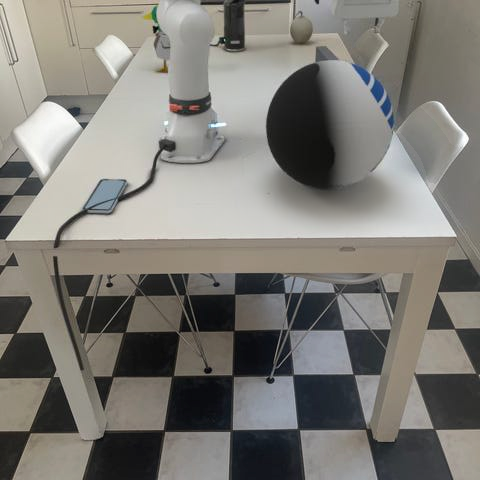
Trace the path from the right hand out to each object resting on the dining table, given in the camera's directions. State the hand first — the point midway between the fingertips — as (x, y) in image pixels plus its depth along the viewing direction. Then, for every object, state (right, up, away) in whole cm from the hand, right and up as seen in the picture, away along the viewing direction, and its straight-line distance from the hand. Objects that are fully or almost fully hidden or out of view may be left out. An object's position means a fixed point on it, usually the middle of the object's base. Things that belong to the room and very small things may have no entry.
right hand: (328, 3), depth 193 cm
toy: (-61, -19, +19) cm, 67 cm away
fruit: (-5, +4, +50) cm, 50 cm away
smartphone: (-67, -78, -65) cm, 122 cm away
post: (+3, -32, -2) cm, 32 cm away
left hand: (+5, -25, -33) cm, 41 cm away
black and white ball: (-12, -74, -61) cm, 97 cm away
